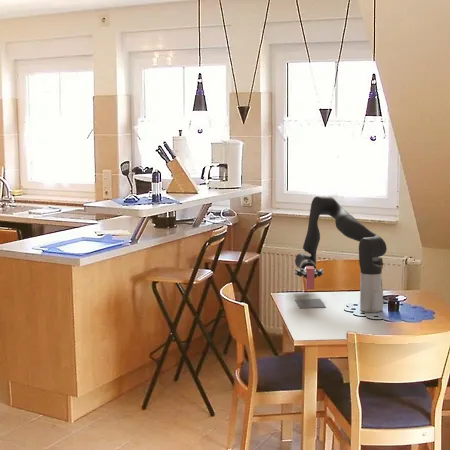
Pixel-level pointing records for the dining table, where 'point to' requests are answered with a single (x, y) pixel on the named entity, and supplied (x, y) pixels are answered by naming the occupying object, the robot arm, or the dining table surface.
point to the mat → (310, 303)
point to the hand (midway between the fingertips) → (310, 276)
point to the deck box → (310, 277)
